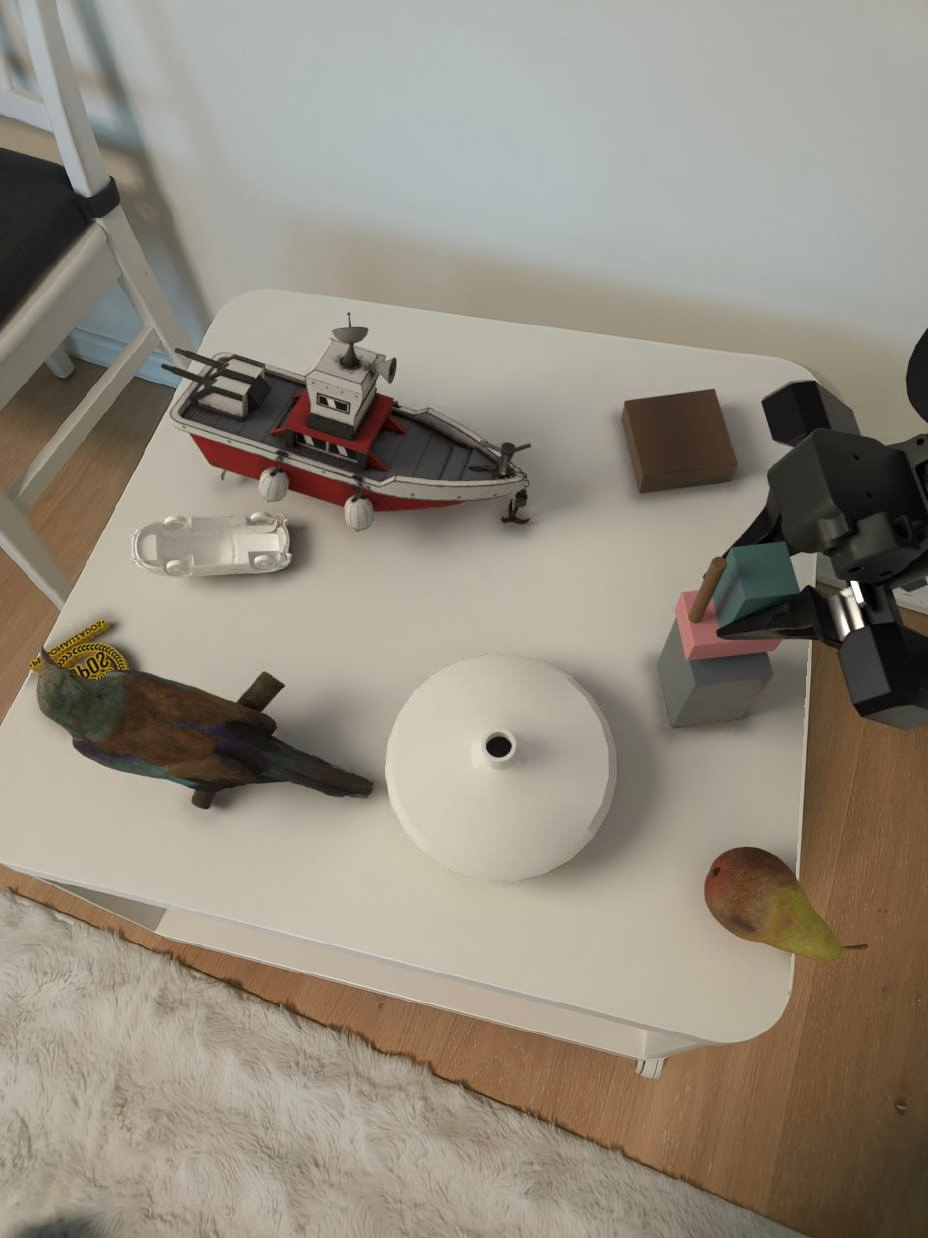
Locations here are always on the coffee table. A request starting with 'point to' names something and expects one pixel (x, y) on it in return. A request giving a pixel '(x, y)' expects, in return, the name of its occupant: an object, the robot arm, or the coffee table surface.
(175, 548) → the toy car
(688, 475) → the walnut block
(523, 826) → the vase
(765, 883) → the fruit
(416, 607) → the coffee table surface
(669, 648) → the grey rectangular block
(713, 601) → the peg stacking toy
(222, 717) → the bird figurine
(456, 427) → the toy boat
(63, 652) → the logo
